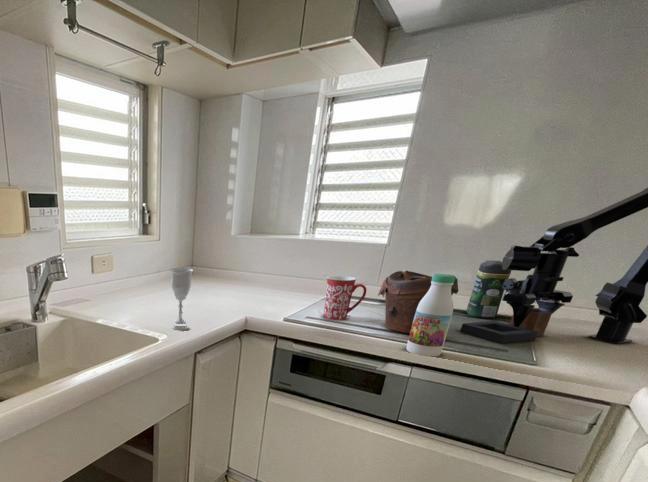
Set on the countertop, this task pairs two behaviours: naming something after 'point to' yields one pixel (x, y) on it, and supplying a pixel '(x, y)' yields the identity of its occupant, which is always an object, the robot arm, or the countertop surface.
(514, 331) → the dark square frame
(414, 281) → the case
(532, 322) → the walnut block
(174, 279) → the chalice
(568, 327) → the countertop surface
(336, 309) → the mug
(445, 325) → the milk bottle
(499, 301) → the coffee jar
